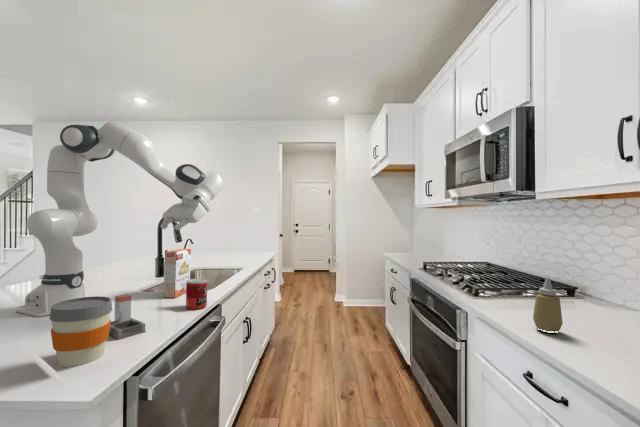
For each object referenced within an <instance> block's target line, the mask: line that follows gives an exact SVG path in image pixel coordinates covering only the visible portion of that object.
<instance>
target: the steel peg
mask: <svg viewBox="0 0 640 427" xmlns="http://www.w3.org/2000/svg"><path fill="white" fill-rule="evenodd" d="M131 314H132V295H129V294H128V293H126V294H119V295H115V296H114V321H115V323H119V322H123V321H127V320H131V318H132V315H131Z"/></svg>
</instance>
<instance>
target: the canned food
mask: <svg viewBox="0 0 640 427" xmlns="http://www.w3.org/2000/svg"><path fill="white" fill-rule="evenodd" d="M185 295H186V296H185V298H186V299H185V306H186V309H187V310H190V311H199V310H204V309H205V308H206V307H207V305H208V302H207V301H208V279H206V278H190V280H187V284H186V293H185Z"/></svg>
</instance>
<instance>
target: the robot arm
mask: <svg viewBox="0 0 640 427" xmlns="http://www.w3.org/2000/svg"><path fill="white" fill-rule="evenodd" d="M59 140H60V142H61V144H59V145H55V146H53V147H52V148H51V149H50V152H49V155H48V160H47V169H46V175H47V176H46V192H47V194H48V195H49V197H51V198H52V199H53V200H54V202H55V203H56V205H57V208H45V209H40V210H36V211H34V212H32V213H31V214H30V215H29V216H28V217H27V220H26V229H27V230H28V232H29V234H30V235H32V236H33V237H34V238H36V239H37V240H38V241H39V243H40V244H41V247H42V249H43V251H44V252H43V253H44V260H45V262H44V263H45V264H44V265H45V267H44V268H45V272H44V274H43V275H39V280H41V282H40V284H39V285H38V286H37V287H36V288H33V290H32V291H29V293H27V294H26V295H25V300H24V305H23V306H20V307H18V308H16V309H15V312H16V313H20V314H24V315H29V316H33V317H37V318H38V317H44V316H50V313H51V307H52V306H53V305H54V304H56V303H59V302H62V301H66V300H70V299H75V298H83V297H86V292H85V284H84V283H83V281H84V278H85V274H84V271H83V254H84V253H83V252H82V250H81V249H80V248H78V247H77V246H76V245H75V242H74V239H73V237H80V236H81V237H82V236H86V235H88V234H91V233H93V232H94V231H95V230H96V229H97V226H98V224H99V222H98V217H97V216H96V215H95V214H94V213H93V212H92V211H91V210H90V207H89V206H88V203H87V200H86V196H85V164H86V162H87V161H88V162H96V161H101V160H102V161H103V160H105V159H108V158H109V159H110V157H112V156H113V154H114V153H115V152H117V153H119V154H121V155H122V156H124V157H125V158H127V159H129V160H130V161H132V162H133V163H135V164H137V166H139V167H141V169H143V170H144V171H146V172H147V174H149V175H150V176H152V177H153V178H155V179H156V180H157V181H159V182H161V184H163V185H165V186H166V187H167V188H169V189H170V190H172V192H173V193H174V194H175V196H176V197H177V198H178V199H180V200H181V202H179V203H174V204H172V205H171V206H170V207H169V208H167V210H166V211H164V213H163V214H162V216H161V217H162V218H163V222H162V223H161V224H160V226H159V227H160V229H162V230H166V229H167V228H168V227H169V224H171V223H176V224H175V225H174V226H173V228H174V229H175V230H177V231H180V230H181V229H182V228H184V227H185V226H188V224H190V223H191V224H195V223H197V222H199V221H200V220H201V219H203V217H204V216H206V214H207V213H209V212H210V211H211V210H212V207H211V206H210V202H211V201H212V200H214V199H215V197H217V195H218V194H219V193H220V191H221V190H222V189H223V187H224V184H223V183H224V182H223V179H222V177H221V176H220V175H219V174H218V173H217V172H215V171H210V170H209V171H207V170H203V169H201V168H198V167H197V166H196V165H193V164H189V163H184V164H182V165H179V166H178V167H176V169H175V172H174V171H172V170H171V169H169V168H168V167H166V166H165V165H164V164H163V162H162V160H160V157H159V155H158V153H157V150H156V147H155V145H154V143H153V142H152V141H151V140H150V139H149V138H148V136H147V137H146V135H144V134H142V133H141V132H139V131H138V130H135V129H134V128H132V127H130V126H128V125H126V124H124V123H121V122H119V121H115V120H111V121H107V122H105V123H104V124H103V125H102V126H101V127H100V128H96V127H95V125H88V124H87V125H85V124H69V125H67V126H65V127H63V128H62V130H61V131H60V135H59Z"/></svg>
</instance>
